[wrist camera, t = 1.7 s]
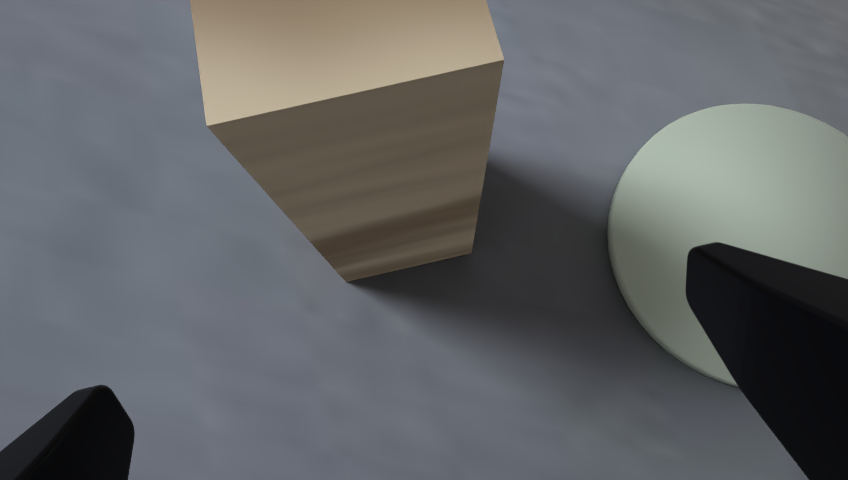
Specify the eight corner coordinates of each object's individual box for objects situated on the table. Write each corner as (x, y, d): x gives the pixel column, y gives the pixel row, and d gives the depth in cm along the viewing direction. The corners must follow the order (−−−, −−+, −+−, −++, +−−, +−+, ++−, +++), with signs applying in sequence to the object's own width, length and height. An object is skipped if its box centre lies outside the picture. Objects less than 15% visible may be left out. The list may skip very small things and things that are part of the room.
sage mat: (884, 437, 19) (902, 439, 19) (574, 333, 21) (579, 330, 20) (921, 158, 22) (938, 149, 21) (644, 82, 23) (650, 72, 23)
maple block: (471, 253, 22) (504, 59, 9) (346, 282, 22) (206, 126, 9) (442, 139, 23) (435, -166, 11) (323, 165, 23) (175, -110, 10)
